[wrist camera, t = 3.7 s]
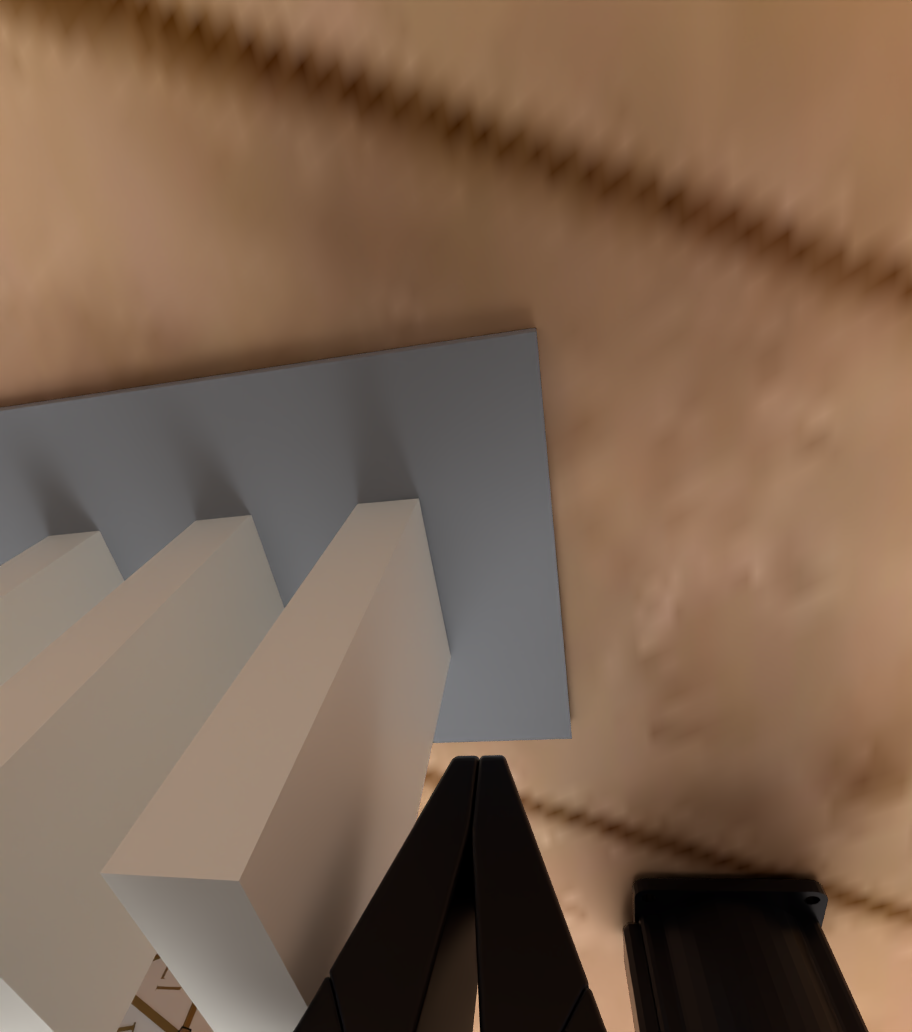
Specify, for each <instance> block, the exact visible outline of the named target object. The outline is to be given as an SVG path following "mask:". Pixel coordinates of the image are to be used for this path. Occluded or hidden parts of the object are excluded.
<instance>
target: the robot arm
mask: <svg viewBox="0 0 912 1032" xmlns="http://www.w3.org/2000/svg"><path fill="white" fill-rule="evenodd" d="M632 896H633V922H627V924H626V925H625V927H624V928H623V941H624V963H625V970H626V976H627V983H628V989H629V996H630V1002H631V1009H632V1015H633V1022H634V1028H635V1032H868V1030H867V1027H866V1025H865V1023H864V1021H863V1019H862V1016H861V1014H860V1012H859V1010H858V1008H857V1005H856V1003H855V1001H854V999H853V997H852V994H851V992H850V990H849V988H848V985H847V983H846V981H845V979H844V977H843V974H842V972H841V970H840V968H839V966H838V963H837V961H836V959H835V957H834V955H833V952H832V950H831V948H830V946H829V943H828V941H827V939H826V937H825V935H824V932H823V930H822V928H821V927H822V923H823V919H824V915H825V910H826V906H827V902H828V898H827V895H826V893H825V891H824V889H823V887H822V885H821V884H820V883H819V882H817V881H814V880H776V879H659V878H645V879H639V880H637V881H635V882H634V883H633V886H632ZM329 974H330V977H326V978H325V979H324V980H323V982H322V984H321V986H320V987H319V989H318V991H317V993H316V994H315V996H314V998H313V999H312V1001H311V1003H310V1005H309V1006H308V1008H307V1010H306V1011H305V1013H304V1015H303V1016H302V1018H301V1019H300V1021H299V1023H298V1024H297V1026H296V1028H295V1029H294V1031H293V1032H473V1022H474V1013H475V1004H476V994H477V985H478V995H479V1017H480V1032H607V1031H606V1028H605V1026H604V1023H603V1020H602V1018H601V1015H600V1012H599V1009H598V1007H597V1004H596V1001H595V999H594V996H593V993H592V991H591V990H590V989H589V986H588V980H587V978H586V975H585V972H584V970H583V967H582V964H581V961H580V959H579V956H578V953H577V951H576V948H575V945H574V942H573V940H572V937H571V934H570V932H569V929H568V926H567V923H566V921H565V918H564V915H563V913H562V910H561V907H560V904H559V902H558V899H557V896H556V894H555V891H554V888H553V886H552V883H551V880H550V877H549V875H548V872H547V869H546V867H545V864H544V861H543V858H542V856H541V853H540V850H539V848H538V845H537V842H536V839H535V837H534V834H533V831H532V829H531V826H530V823H529V820H528V818H527V815H526V812H525V810H524V807H523V804H522V801H521V799H520V796H519V793H518V791H517V788H516V785H515V782H514V780H513V777H512V774H511V772H510V769H509V766H508V764H507V761H506V759H505V757H504V756H502V755H492V756H482V757H481V758H480V760H479V758H478V757H477V756H457V757H455V758H453V759H452V761H451V762H450V764H449V766H448V768H447V769H446V771H445V773H444V774H443V776H442V778H441V780H440V781H439V783H438V785H437V786H436V788H435V790H434V792H433V793H432V795H431V797H430V799H429V800H428V802H427V804H426V805H425V807H424V809H423V811H422V812H421V814H420V816H419V817H418V819H417V821H416V823H415V824H414V826H413V828H412V830H411V831H410V833H409V835H408V836H407V838H406V840H405V842H404V843H403V845H402V847H401V848H400V850H399V852H398V854H397V855H396V857H395V859H394V860H393V862H392V864H391V866H390V867H389V869H388V871H387V873H386V874H385V876H384V878H383V879H382V881H381V883H380V885H379V886H378V888H377V890H376V891H375V893H374V895H373V897H372V898H371V900H370V902H369V903H368V905H367V907H366V909H365V910H364V912H363V914H362V916H361V917H360V919H359V921H358V922H357V924H356V926H355V928H354V929H353V931H352V933H351V934H350V936H349V938H348V940H347V941H346V943H345V945H344V947H343V948H342V950H341V952H340V953H339V955H338V957H337V959H336V960H335V962H334V964H333V965H332V967H331V969H330V971H329Z"/></svg>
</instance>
